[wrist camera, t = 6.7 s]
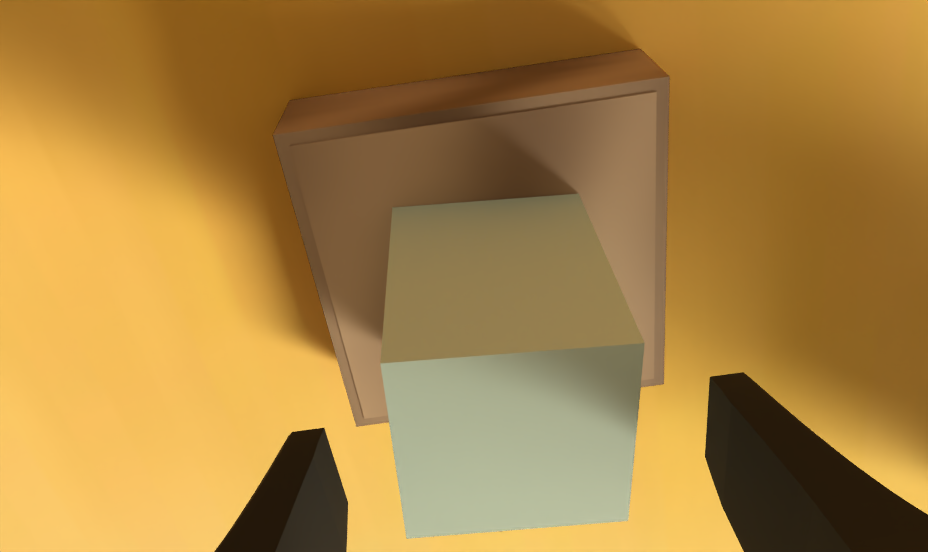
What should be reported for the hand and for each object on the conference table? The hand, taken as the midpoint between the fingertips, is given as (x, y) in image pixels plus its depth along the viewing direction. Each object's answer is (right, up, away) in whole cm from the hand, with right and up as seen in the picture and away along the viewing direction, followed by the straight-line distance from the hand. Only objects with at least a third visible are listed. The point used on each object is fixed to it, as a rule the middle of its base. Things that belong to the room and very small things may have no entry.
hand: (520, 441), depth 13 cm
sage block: (0, +3, +5) cm, 6 cm away
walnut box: (-1, +5, +8) cm, 9 cm away
